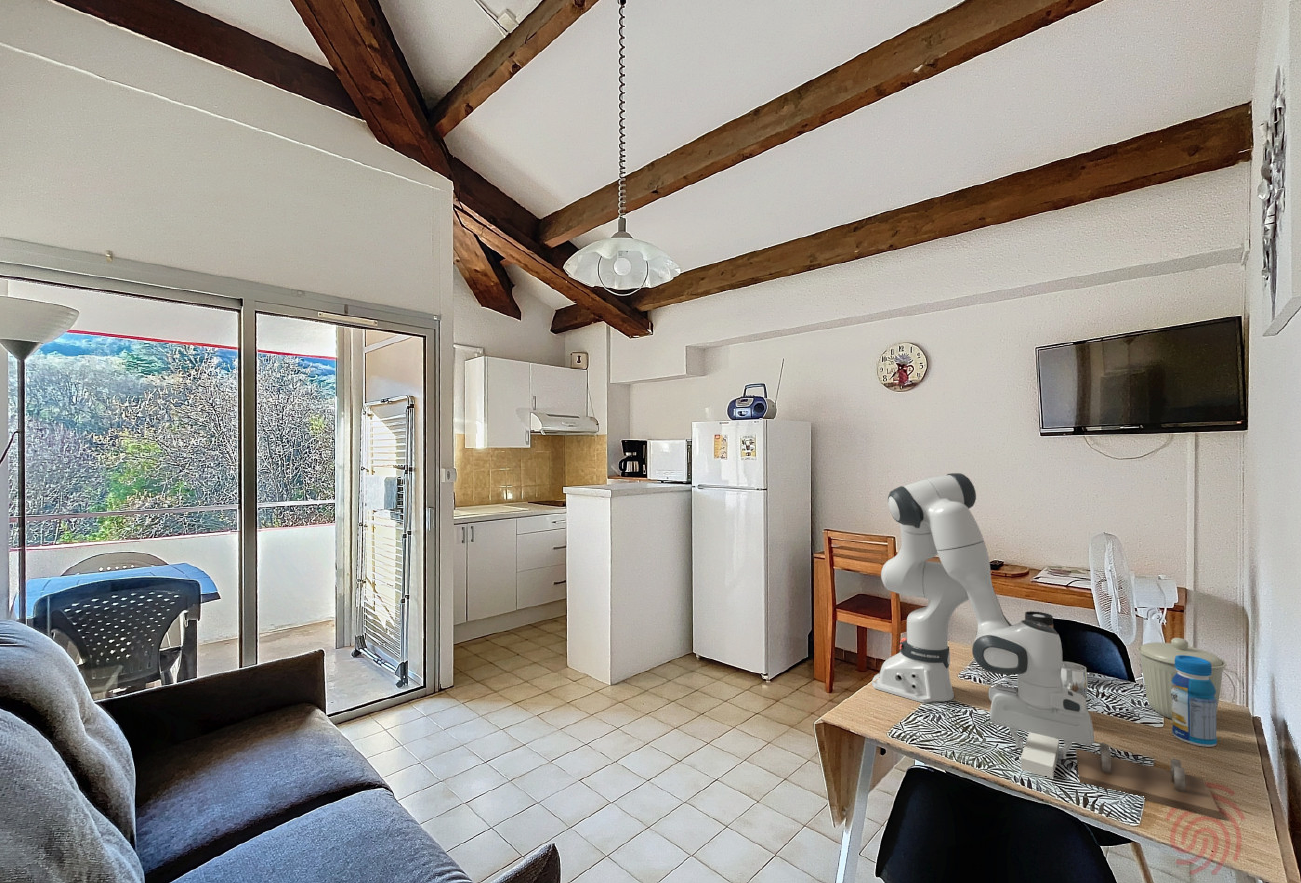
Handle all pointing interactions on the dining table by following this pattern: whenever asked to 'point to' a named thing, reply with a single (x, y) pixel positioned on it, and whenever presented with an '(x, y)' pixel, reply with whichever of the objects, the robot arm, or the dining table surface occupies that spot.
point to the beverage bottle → (1193, 702)
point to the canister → (1171, 671)
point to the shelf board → (1040, 755)
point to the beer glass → (1074, 678)
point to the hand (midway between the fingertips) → (1040, 752)
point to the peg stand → (1147, 781)
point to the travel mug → (1040, 617)
